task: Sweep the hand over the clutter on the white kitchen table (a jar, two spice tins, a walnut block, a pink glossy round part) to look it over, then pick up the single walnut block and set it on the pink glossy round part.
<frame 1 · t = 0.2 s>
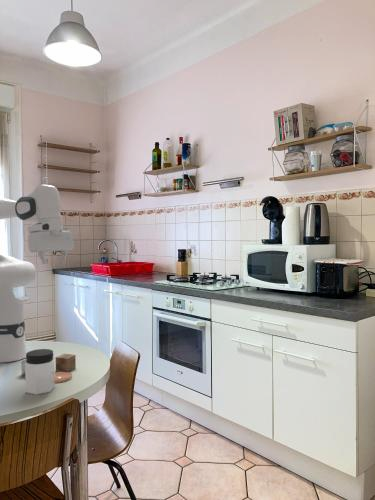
hand: (54, 263, 155), 39 cm above the table, tool pointing down, fingers open, 8 cm apart
tin b: (46, 374, 145), on the table
pink glossy round part: (58, 378, 141), on the table
jar: (40, 390, 131), on the table
tin a: (28, 374, 145), on the table
walnut block: (65, 369, 150), on the table
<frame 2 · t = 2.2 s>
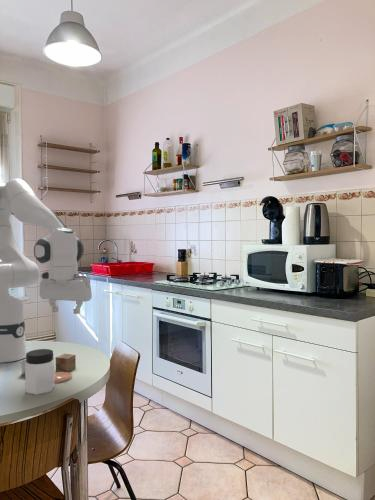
hand: (65, 312, 145), 22 cm above the table, tool pointing down, fingers open, 8 cm apart
nothing on the table moved.
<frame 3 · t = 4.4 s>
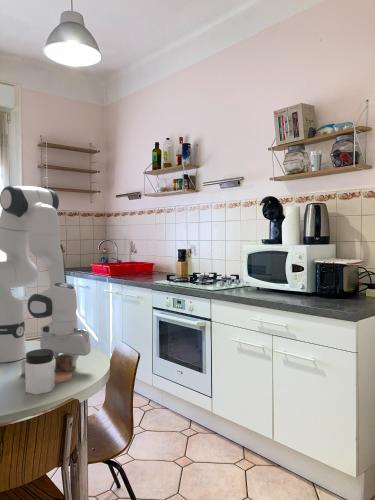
hand: (65, 364, 150), 2 cm above the table, tool pointing down, fingers closed on walnut block, 5 cm apart
walnut block: (65, 369, 150), on the table, touching gripper
everything else where it was.
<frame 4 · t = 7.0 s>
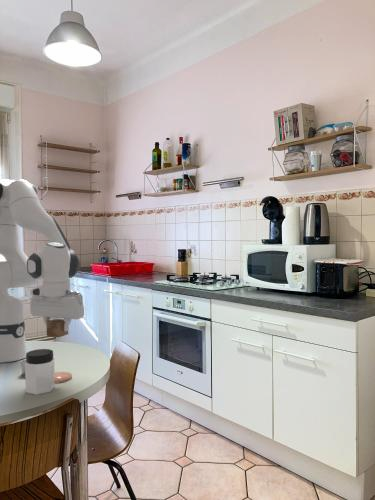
hand: (57, 330, 140), 17 cm above the table, tool pointing down, fingers closed on walnut block, 5 cm apart
walnut block: (57, 335, 140), point 15 cm above the table, touching gripper
everything else where it was.
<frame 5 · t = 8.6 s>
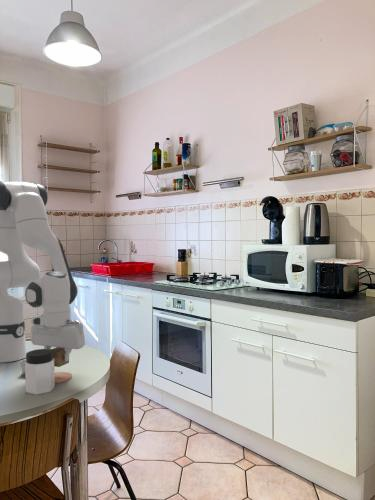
hand: (58, 359, 140), 7 cm above the table, tool pointing down, fingers closed on walnut block, 5 cm apart
walnut block: (58, 364, 140), point 5 cm above the table, touching gripper
everything else where it was.
when the fingers open (4 cm above the table, at t = 9.6 s): walnut block drops 1 cm, resting on pink glossy round part.
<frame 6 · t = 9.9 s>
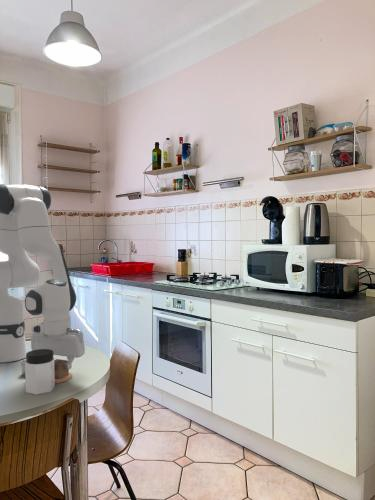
hand: (58, 367, 140), 4 cm above the table, tool pointing down, fingers open, 7 cm apart
tin b: (45, 374, 145), on the table, touching gripper
walnut block: (58, 376, 141), point 1 cm above the table, touching pink glossy round part
everything else where it was.
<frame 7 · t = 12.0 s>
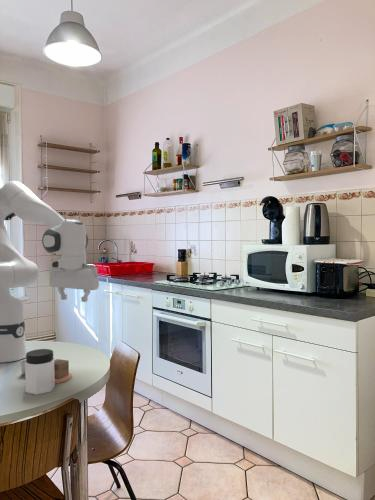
hand: (74, 300, 152), 25 cm above the table, tool pointing down, fingers open, 8 cm apart
tin b: (45, 374, 145), on the table
everything else where it was.
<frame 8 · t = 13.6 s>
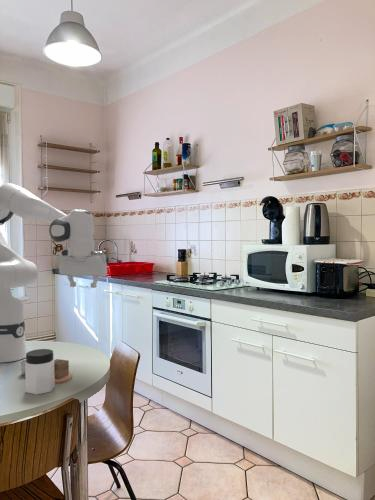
hand: (83, 287, 158), 29 cm above the table, tool pointing down, fingers open, 8 cm apart
nothing on the table moved.
at the end: walnut block 0.1 cm from the pink glossy round part (horizontally); walnut block point 0.8 cm above the table; walnut block tilted 0° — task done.
